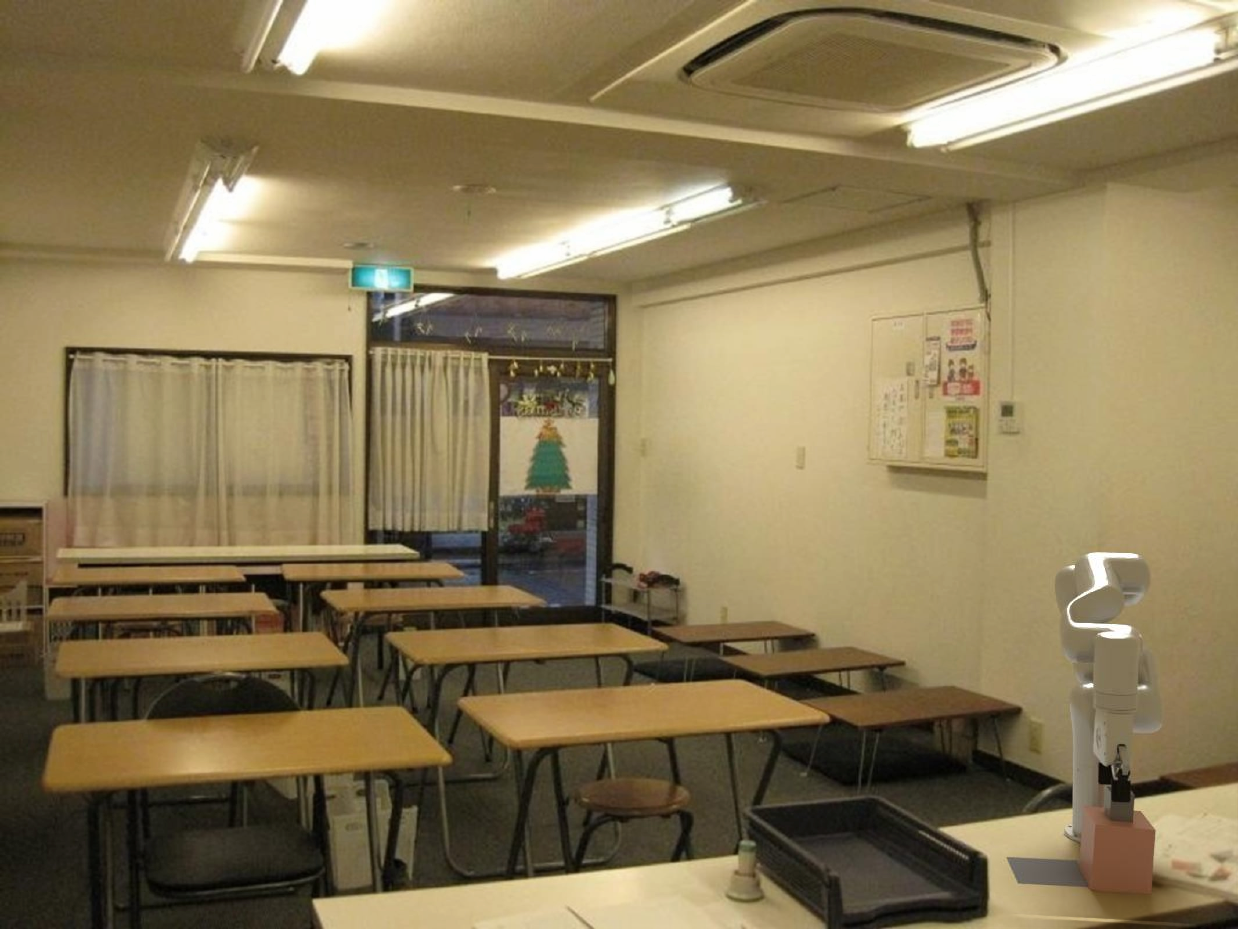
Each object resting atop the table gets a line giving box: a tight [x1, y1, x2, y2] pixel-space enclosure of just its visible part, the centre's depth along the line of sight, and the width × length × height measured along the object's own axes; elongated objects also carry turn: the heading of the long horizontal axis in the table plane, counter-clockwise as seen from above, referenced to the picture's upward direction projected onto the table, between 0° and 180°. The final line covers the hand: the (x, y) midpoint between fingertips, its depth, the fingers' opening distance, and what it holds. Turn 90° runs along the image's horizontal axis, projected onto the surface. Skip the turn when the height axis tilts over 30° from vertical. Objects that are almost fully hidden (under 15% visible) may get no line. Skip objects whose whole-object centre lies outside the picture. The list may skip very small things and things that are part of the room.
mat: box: [1006, 856, 1089, 888], centre depth 227 cm, size 13×13×1 cm
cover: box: [1078, 786, 1157, 895], centre depth 222 cm, size 10×10×17 cm
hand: (1113, 792), depth 223 cm, fingers open, 9 cm apart
